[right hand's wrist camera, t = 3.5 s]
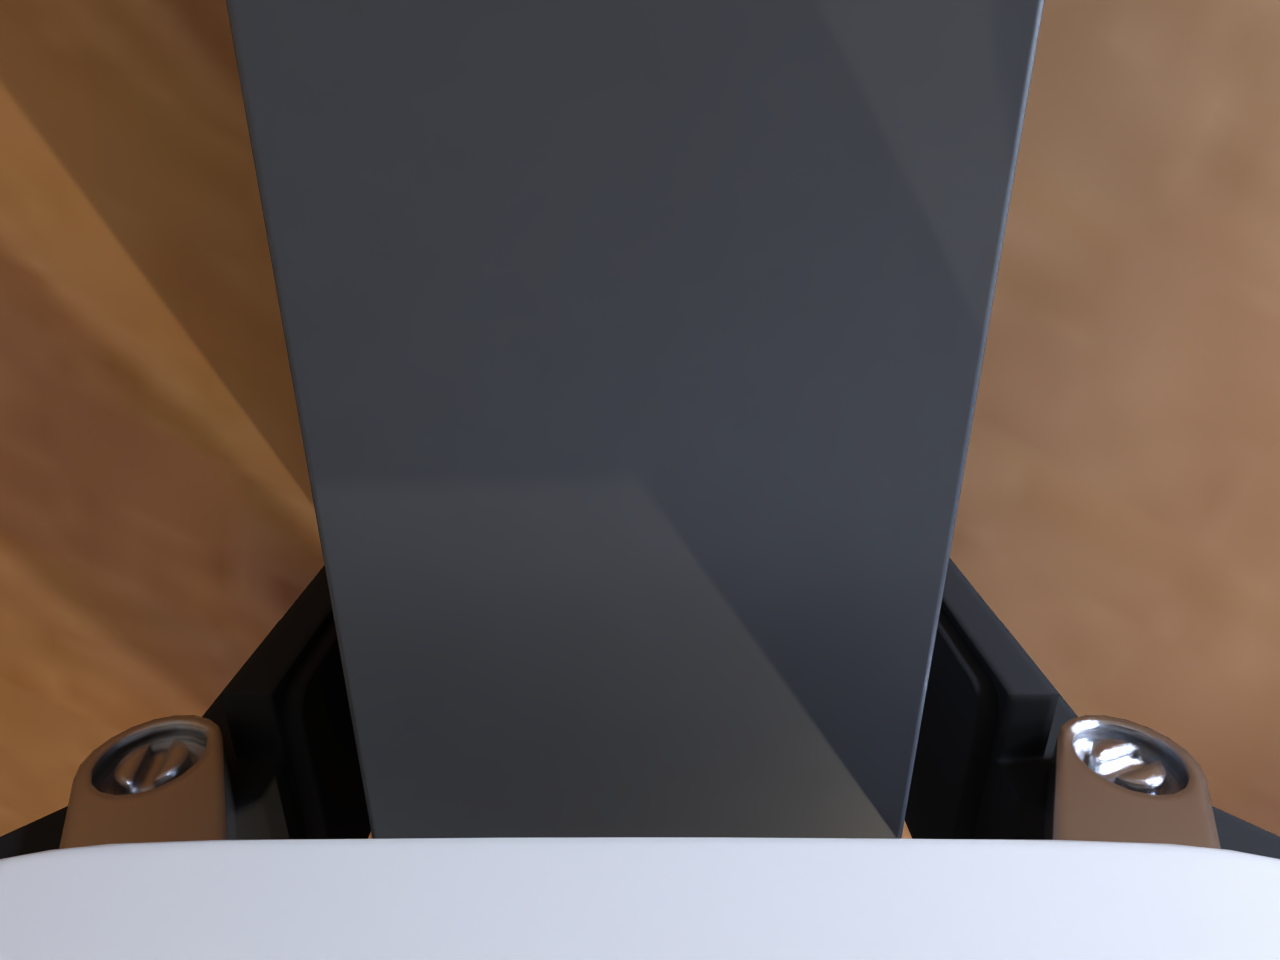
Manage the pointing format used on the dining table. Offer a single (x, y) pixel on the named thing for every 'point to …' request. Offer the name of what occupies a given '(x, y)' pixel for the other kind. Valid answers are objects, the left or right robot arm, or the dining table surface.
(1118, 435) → the dining table surface
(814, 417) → the beam
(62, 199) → the dining table surface
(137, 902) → the right robot arm
